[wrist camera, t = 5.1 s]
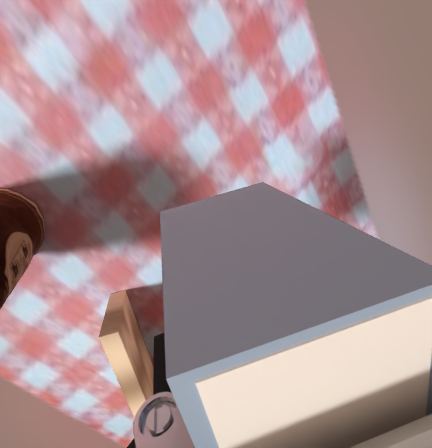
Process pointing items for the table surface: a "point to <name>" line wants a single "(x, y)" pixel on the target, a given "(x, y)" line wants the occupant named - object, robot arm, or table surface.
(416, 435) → the robot arm
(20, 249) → the coffee cup
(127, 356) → the rack
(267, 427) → the grey rectangular block
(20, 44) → the table surface
